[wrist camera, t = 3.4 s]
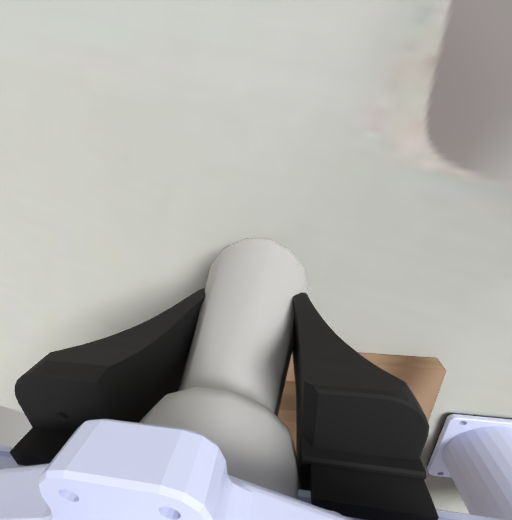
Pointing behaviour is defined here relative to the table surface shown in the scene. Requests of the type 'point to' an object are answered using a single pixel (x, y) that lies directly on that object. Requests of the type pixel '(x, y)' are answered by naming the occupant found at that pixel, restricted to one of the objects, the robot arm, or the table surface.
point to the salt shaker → (243, 364)
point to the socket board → (403, 367)
